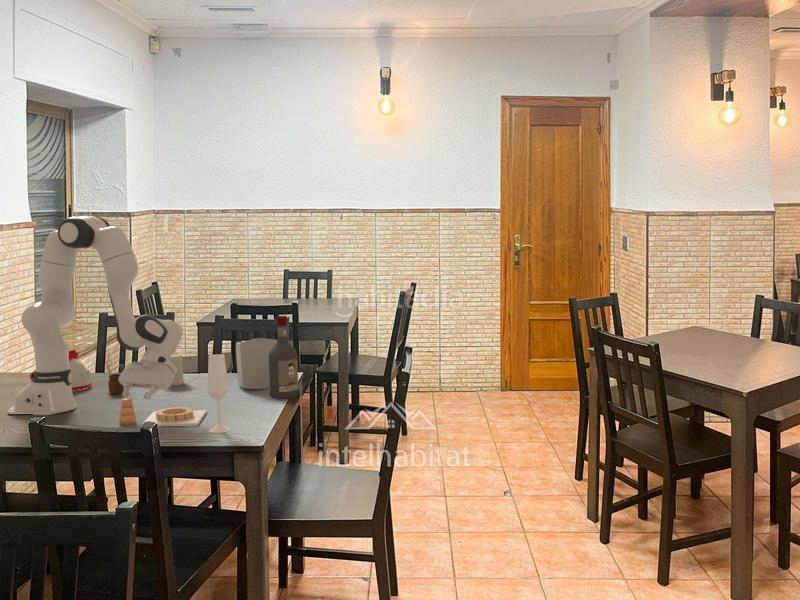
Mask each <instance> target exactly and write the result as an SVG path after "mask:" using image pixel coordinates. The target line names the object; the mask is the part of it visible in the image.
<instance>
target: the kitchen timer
mask: <svg viewBox="0 0 800 600" xmlns="http://www.w3.org/2000/svg"><path fill="white" fill-rule="evenodd" d="M68 354H69V368H70V369H71V375H72V383H71V388H72V390H78V389H83V388H87V387H89V386H91V385H92V384H93V383H92V378H91V370H89V369H87V367H86V366H85V364H83V362H82V361H80V360H78V356H79V352H78V351H77V350H76V349H71V350H68ZM92 386H93V385H92Z"/></svg>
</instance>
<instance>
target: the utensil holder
mask: <svg viewBox="0 0 800 600" xmlns="http://www.w3.org/2000/svg"><path fill="white" fill-rule="evenodd" d="M121 366H123V364H121V363H120V364H118V366H117V369H116V370H119V369H120V371H121V369H122V368H120V367H121ZM106 367H107V370H108V372H109V376H108V379H109V380H108V383H107V384H108V393H109V394H110V393H112V394H111V395H118V394H117V393H123V391H124V386H123V385H122V384H121V383H120V382H119V376H120V375H121V373H122V372H123V371H124V369H122V372H121V373H111V369H110V367H109V364H108V362H106Z"/></svg>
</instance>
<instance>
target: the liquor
mask: <svg viewBox="0 0 800 600" xmlns="http://www.w3.org/2000/svg"><path fill="white" fill-rule="evenodd" d="M287 318H288V317H287V315H277V316H276V325H277V339H276V340H277V343H276V345H275V346H274V347H273V348H272V350H271V351H270V353H269V377H270V388H269V396H270V398H271V397H272V399H275V398H276V400H279V399H285V400H291V399H294V398H297V397H298V395H299V372H298V371H299V367H298V365H299V364H298V363H299V362H298V352H297V349H295V348H294V346H293V345H292V344H291V343H290V342H289V340H288V327H287V325H288V319H287Z"/></svg>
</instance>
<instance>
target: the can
mask: <svg viewBox="0 0 800 600" xmlns="http://www.w3.org/2000/svg"><path fill="white" fill-rule="evenodd" d="M170 361H171V362H172V363H173V364H174V365H175V366H176V368H177V369H178V371H177V373H176V374H175V377H174V379H173V381H172V383H171V385H170V387H174V386H180V385H183V384H184V383H185V382H184V371H183V370H184V368H183V367H184V366H183V354H182V353H179V352H178V353H176V352H175V353H174V354H173V355H172V356H171V360H170Z"/></svg>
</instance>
